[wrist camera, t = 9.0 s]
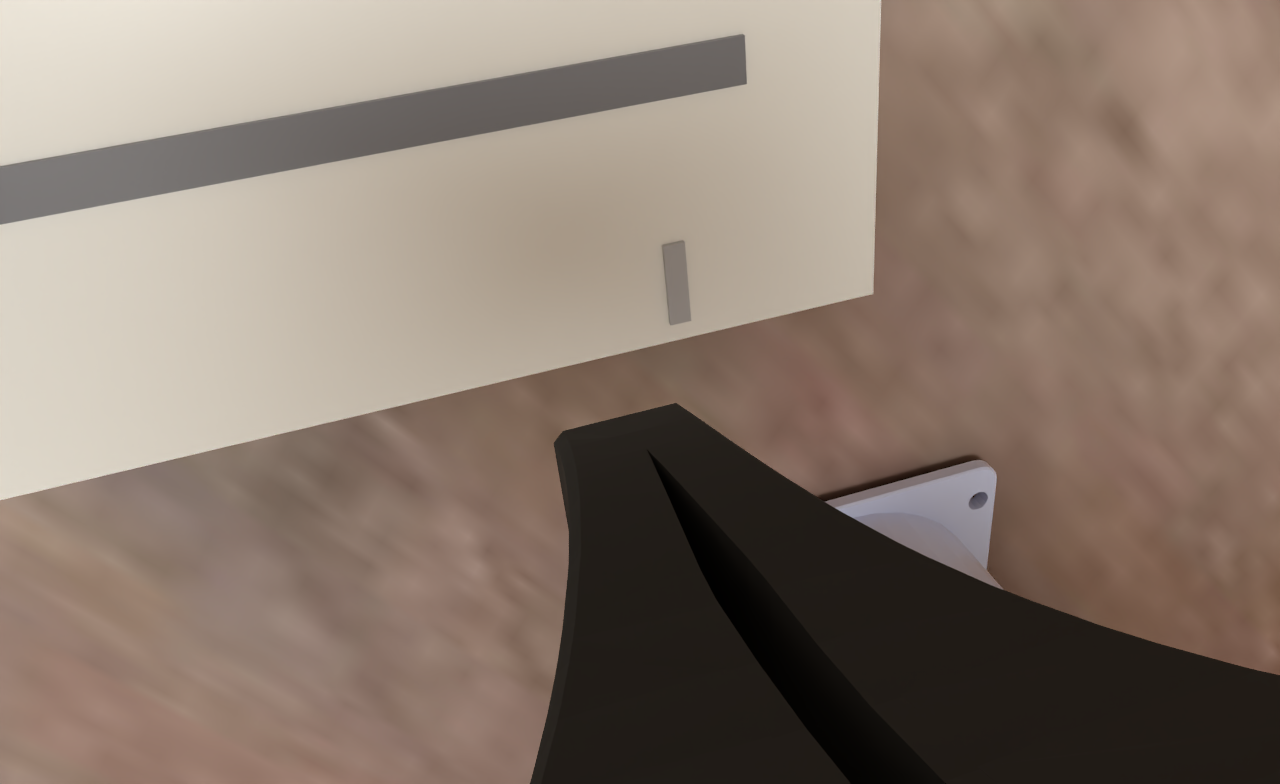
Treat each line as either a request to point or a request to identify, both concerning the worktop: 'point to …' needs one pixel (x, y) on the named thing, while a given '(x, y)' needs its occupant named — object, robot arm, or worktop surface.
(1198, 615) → the worktop surface
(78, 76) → the mixer panel
